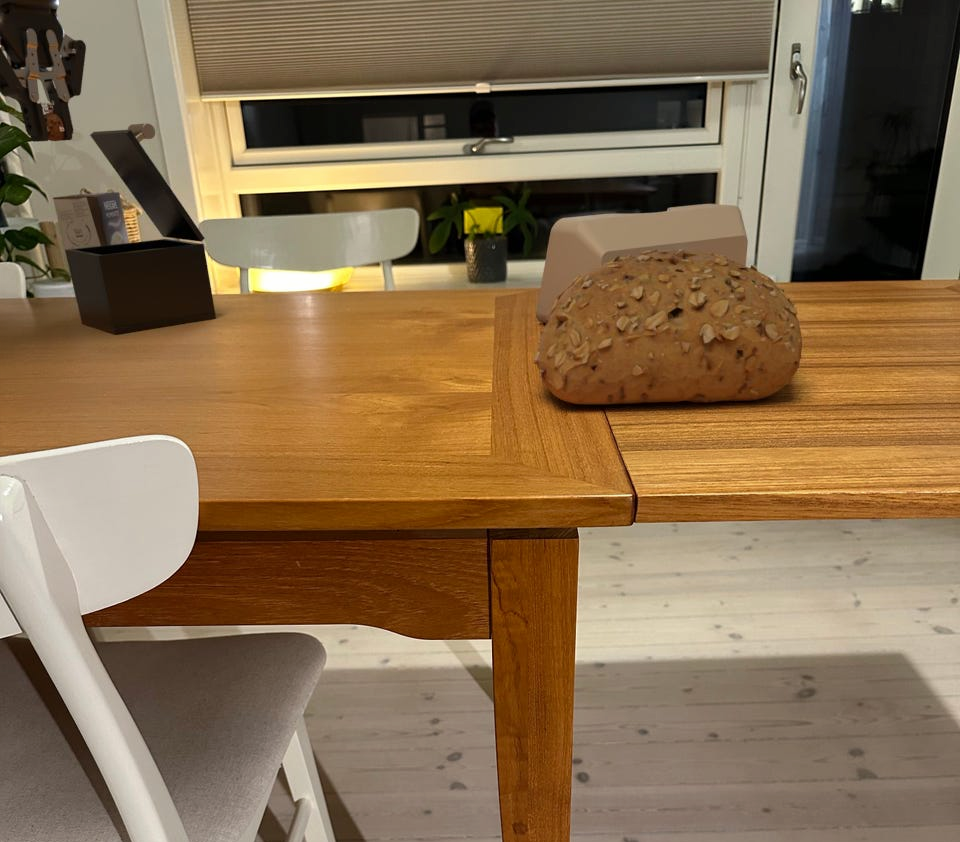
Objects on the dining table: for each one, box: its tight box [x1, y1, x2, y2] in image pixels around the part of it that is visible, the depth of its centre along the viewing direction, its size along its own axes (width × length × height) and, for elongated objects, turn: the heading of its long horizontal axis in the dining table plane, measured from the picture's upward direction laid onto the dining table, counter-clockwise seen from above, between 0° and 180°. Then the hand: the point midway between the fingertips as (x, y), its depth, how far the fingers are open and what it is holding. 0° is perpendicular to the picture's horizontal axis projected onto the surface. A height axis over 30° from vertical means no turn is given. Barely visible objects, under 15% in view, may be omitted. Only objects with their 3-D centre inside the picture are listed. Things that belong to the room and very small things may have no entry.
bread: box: [532, 249, 803, 406], centre depth 89 cm, size 24×21×12 cm
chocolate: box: [39, 101, 64, 142], centre depth 108 cm, size 3×2×4 cm
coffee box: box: [52, 191, 130, 315], centre depth 141 cm, size 9×6×16 cm
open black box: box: [64, 238, 217, 335], centre depth 133 cm, size 15×13×10 cm
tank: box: [535, 203, 749, 324], centre depth 117 cm, size 25×16×12 cm, turn 119°
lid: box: [89, 122, 206, 243], centre depth 129 cm, size 15×13×5 cm
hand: (52, 139), depth 109 cm, fingers closed on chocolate, 2 cm apart
